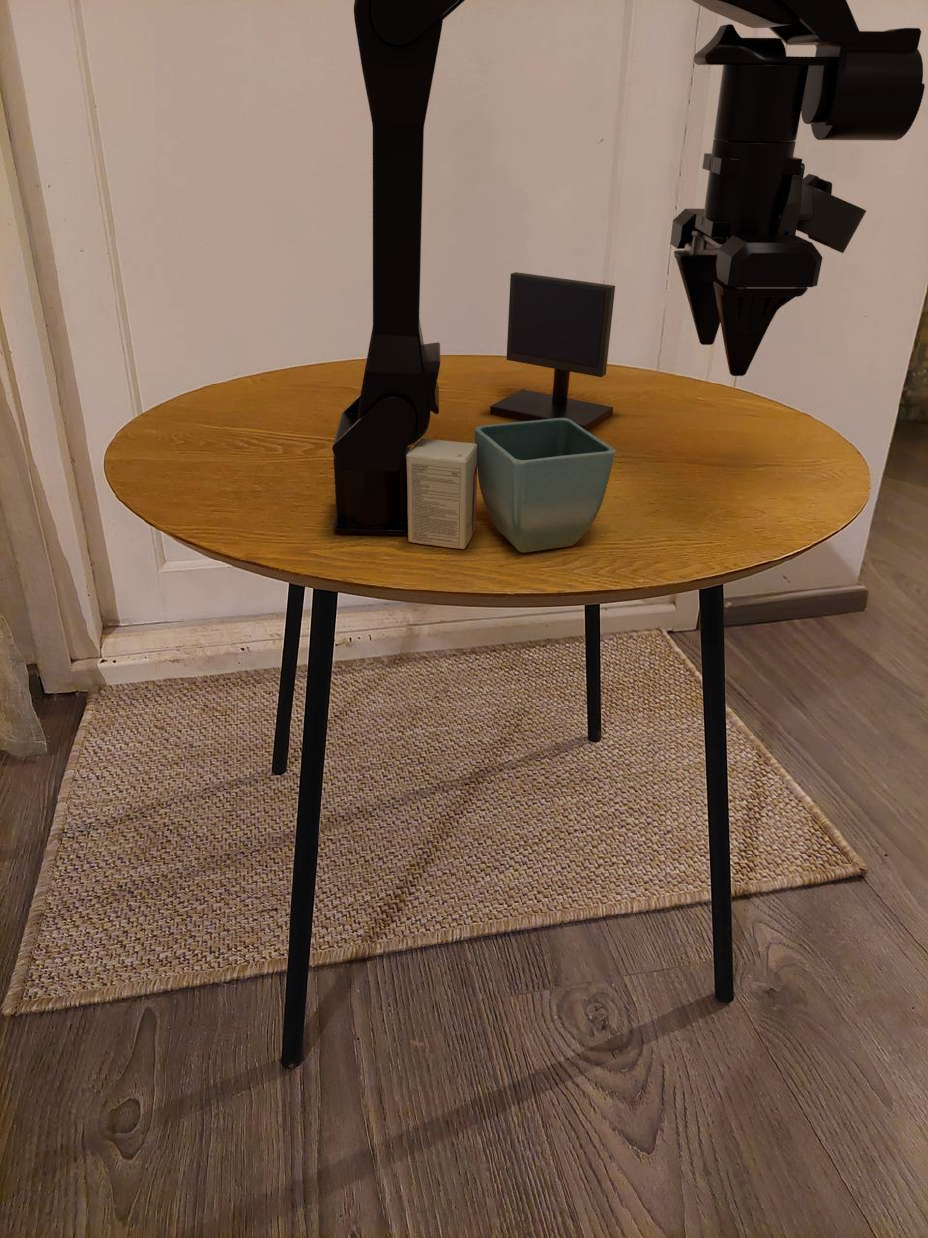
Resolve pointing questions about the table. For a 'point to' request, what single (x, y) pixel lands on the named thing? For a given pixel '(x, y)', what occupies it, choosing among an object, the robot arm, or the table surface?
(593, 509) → the flower pot
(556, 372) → the monitor stand
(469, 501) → the small box
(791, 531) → the table surface
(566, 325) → the monitor screen
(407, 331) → the robot arm
